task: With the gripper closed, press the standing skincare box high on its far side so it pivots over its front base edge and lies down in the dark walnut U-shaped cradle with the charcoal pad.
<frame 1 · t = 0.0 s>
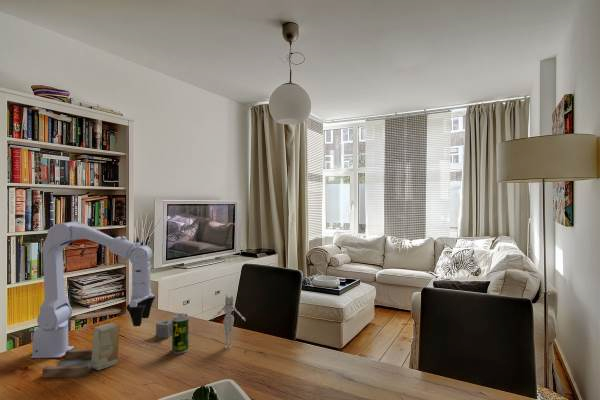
hand: (141, 321, 124), 10 cm above the table, tool pointing down, fingers open, 7 cm apart
skincare box: (104, 365, 114), on the table, touching u rest
beer can: (180, 351, 125), on the table
dice cube: (165, 335, 138), on the table
human figurine: (228, 346, 129), on the table
u rest: (76, 366, 113), on the table
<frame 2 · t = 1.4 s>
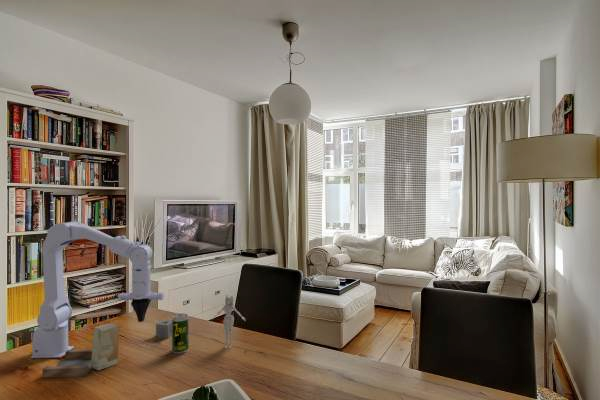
hand: (141, 320, 124), 10 cm above the table, tool pointing down, fingers closed
nothing on the table moved.
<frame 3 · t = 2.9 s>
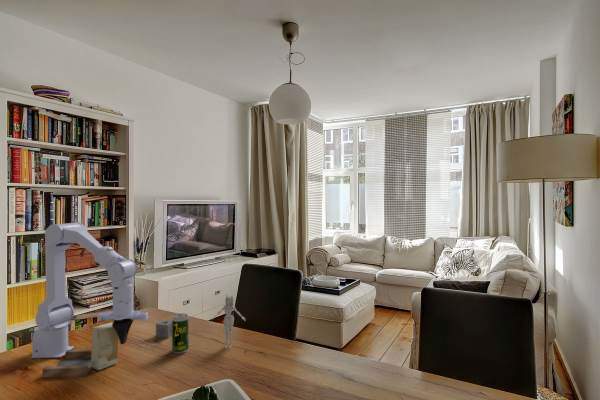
hand: (123, 342, 114), 7 cm above the table, tool pointing down, fingers closed
skincare box: (104, 365, 114), on the table, touching gripper, u rest
everything else where it was.
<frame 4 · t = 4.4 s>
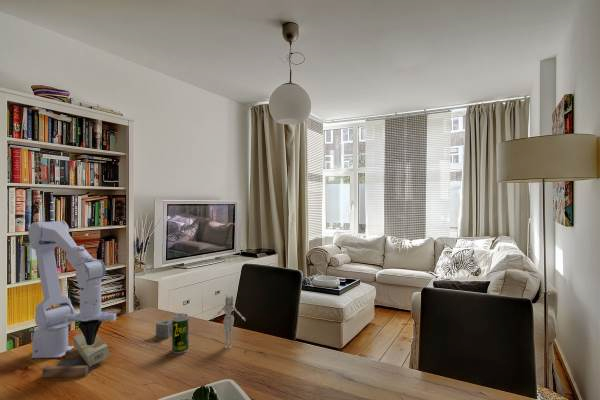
hand: (90, 344, 113), 7 cm above the table, tool pointing down, fingers closed
skincare box: (99, 356, 113), point 3 cm above the table, touching u rest
everything else where it was.
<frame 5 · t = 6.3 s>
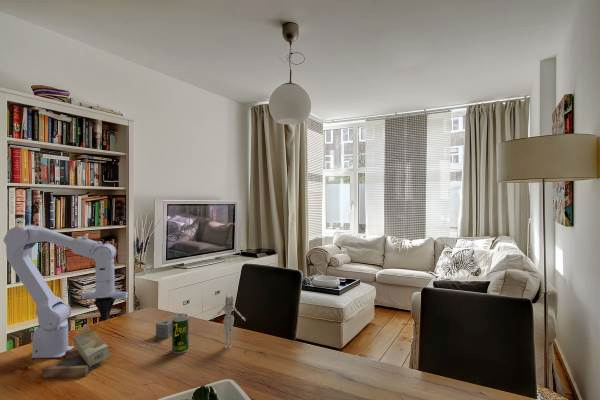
hand: (105, 319, 125), 10 cm above the table, tool pointing down, fingers closed
nothing on the table moved.
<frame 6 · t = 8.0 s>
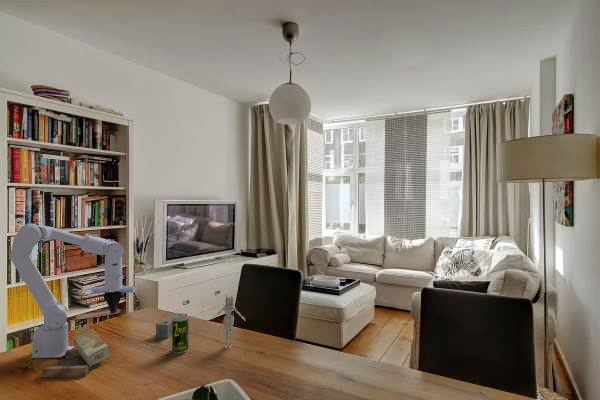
hand: (113, 312, 132), 10 cm above the table, tool pointing down, fingers closed
nothing on the table moved.
at the end: skincare box tilted 76°; skincare box inside the target area on the u rest (2.0 cm from its centre), point 2.9 cm above the u rest's base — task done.
